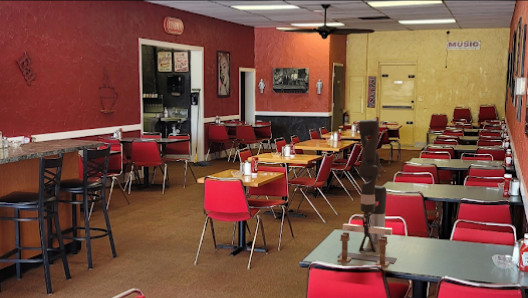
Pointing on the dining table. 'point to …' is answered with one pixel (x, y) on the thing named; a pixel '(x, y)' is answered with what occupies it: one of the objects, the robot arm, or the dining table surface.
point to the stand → (346, 259)
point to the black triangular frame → (370, 244)
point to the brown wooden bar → (371, 229)
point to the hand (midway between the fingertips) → (367, 233)
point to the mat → (368, 257)
